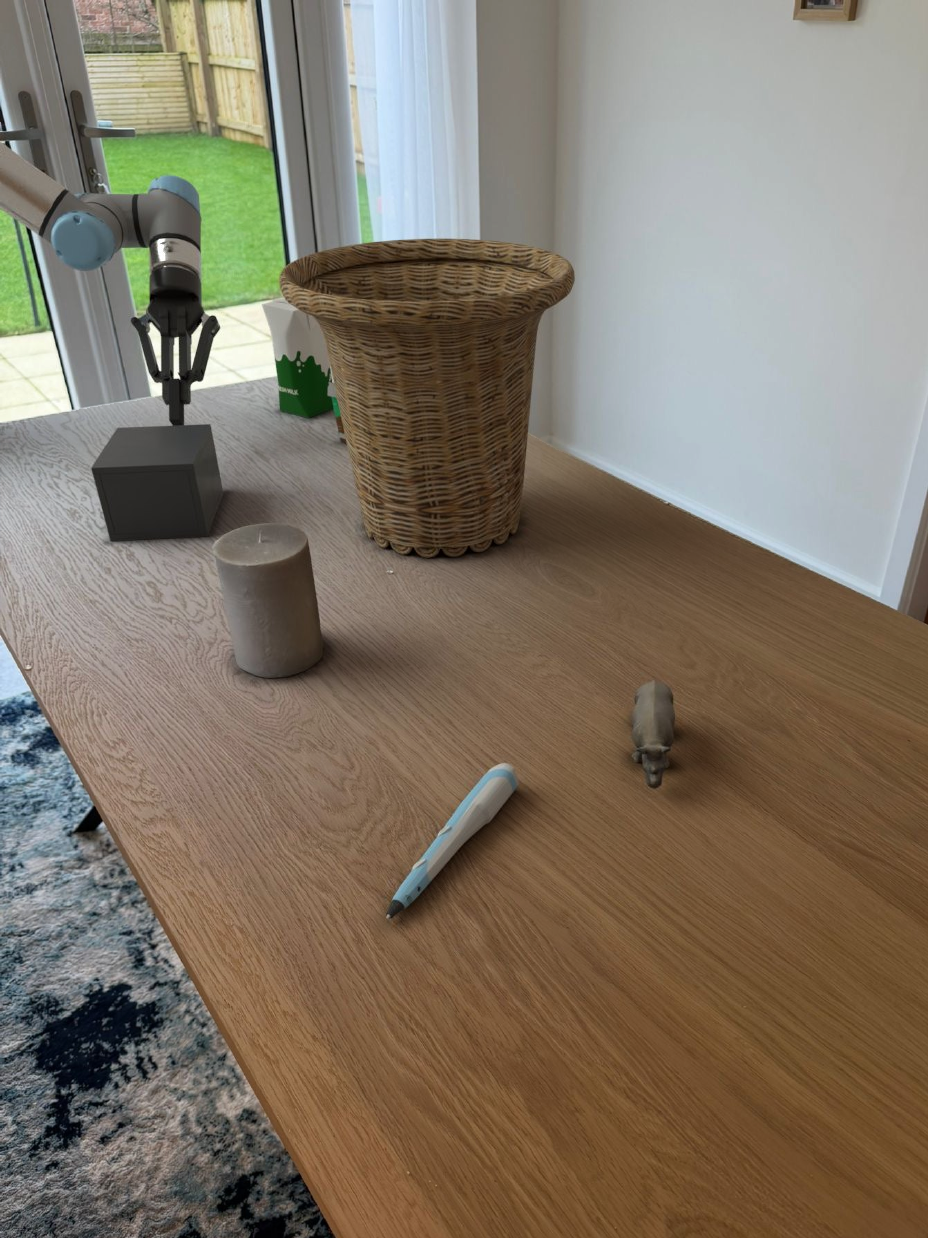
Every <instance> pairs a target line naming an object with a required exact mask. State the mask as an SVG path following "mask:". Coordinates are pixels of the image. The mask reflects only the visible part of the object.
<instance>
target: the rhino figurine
mask: <svg viewBox="0 0 928 1238" xmlns="http://www.w3.org/2000/svg"><path fill="white" fill-rule="evenodd" d="M674 700H675V699H674V694H673V691H672V689H671V687H669V686H668V685H667V684H665V683H663V682H660V681H658V680H655V679H653V680H652V681H649V682H646V683H644V684H642V685H640V686H639V687H638V688H637V690H636V691H635V694H634V698H633V701H634V705H635V706H634V708H633V710H632V713H631V718H630V719H631V725H632V727H633V728H632V730H631V741H632V742H633V744H634V745H635V747H636V748H635V751H634V752H633V753H632V754H631V758H632V759H633V761H634V762H635V763H642V770H643V772H644V774H645V781H646V785H647V787H649V788H650V789H652V790H655V789H658V788H659V787H661V786H662V782H663V774H664V771H665V770H667V769H668V768H669V766H670V760H668V758H667V756H666V755H667V754H668V753H669V752H671V748H672V745H673V744H674V742H675V734H674V729H673V728H674V726H675V721H676V713H675V708H674Z"/></svg>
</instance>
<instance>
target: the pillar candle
mask: <svg viewBox="0 0 928 1238" xmlns="http://www.w3.org/2000/svg"><path fill="white" fill-rule="evenodd" d="M212 551H213V554H214V559H215V563H216V569H217V574H218V579H219V583H220V589H221V595H222V600H223V605H224V609H225V615H226V621H227V625H228V629H229V635H230V638H231V644H232V648H233V653H234V658H235V662H236V665H237V667H238V668H239V669H241V670H243V671H245V672H247V673H249V674H251V675H254V676H256V677H260V678H265V679H271V678H272V679H274V678H275V679H276V678H284V677H289V676H294V675H297V674H299V673H302V672H305V671H307V670H309V669H310V668H312V667H313V666H314V665H316V663H318V662H320V660H321V659H322V658H323V656H324V653H325V648H324V644H323V636H322V629H321V619H320V612H319V604H318V597H317V590H316V583H315V582H316V581H315V576H314V569H313V563H312V556H311V555H312V554H311V549H310V542H309V538H308V536H307V534H306V533H305V532H304V531H303V530H302V529H300V528H299V527H297V526H293V525H291V524H290V525H289V524H284V523H280V522H279V523H277V522H264V523H263V522H262V523H255V524H250V525H245V526H240V527H238V528H235V529H233V530H230V531H229V532H227V533H224V534H223V535H222V536H221V537H220V538H218V539H216V540H215V541H214V543H213V545H212Z"/></svg>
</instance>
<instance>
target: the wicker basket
mask: <svg viewBox="0 0 928 1238" xmlns="http://www.w3.org/2000/svg"><path fill="white" fill-rule="evenodd" d="M575 278H576V277H575V269H574V267H573V265H572V264H571V262H570V261H569V260H568V259H566V257H564V256H561V254H558V253H555V252H552V251H550V250H546V249H543V248H539V247H536V246H535V247H534V246H530V245H526V244H520V243H513V242H506V241H498V240H489V239H488V240H486V239H471V238H411V239H395V240H394V239H392V240H381V241H372V242H371V241H370V242H363V243H357V244H349V245H345V246H344V245H343V246H338V247H334V248H329V249H325V250H321V251H317V252H314V253H311V254H308V255H305V256H302V257H299V258H298V259H295V260H293V261H291V262H289V263H288V264H287V265H286V266H284V267H283V269H282V270H281V272H280V274H279V277H278V284H279V285H278V286H279V291H280V292H281V294H282V297H283V298H285V300H286V301H287V302H288V303H289V304H291V305H293V306H294V307H296V308H297V309H299V310H300V311H302V312H304V313H306V314H309V315H311V316H313V317H314V318H315V319H316V321H317V322H318V324H319V326H320V328H321V330H322V332H323V335H324V338H325V342H326V347H327V352H328V356H329V361H330V369H331V376H332V381H333V383H334V385H335V390H336V394H337V399H338V404H339V409H340V414H341V418H342V423H343V428H344V433H345V437H346V442H347V444H346V446H347V452H348V456H349V460H350V467H351V471H352V475H353V480H354V485H355V490H356V493H357V499H358V503H359V508H360V512H361V517H362V520H363V524H364V529H365V532H366V534H367V536H368V538H369V539H374V541H375V542H376V544H377V545H378V546H379V547H381V548H383V549H385V548H388V547H389V546H391V548H392V549H393V551H395V552H396V553H397V554H400V555H409V554H410V553H411V552H412V551H413V548H414V551H415V552H416V553H417V554H418V555H419V556H420V557H422V558H426V559H431V558H434V557H436V556H437V555H438V554H439V552H440V550H442V552H443V554H445V555H447V557H450V558H458V557H461V556H462V555H464V554H465V553H466V551H467V550H468V547H469V548H470V550H472V552H475V553H482V552H484V551H486V550H488V549H489V548H490V546H491V544H492V542H493V543H494V544H496V545H502V544H504V543H505V542H506V541H507V539H508V537H509V535H515V534H516V532H517V530H518V526H519V523H520V518H521V510H522V500H523V493H524V492H523V491H524V482H525V481H524V479H525V471H526V461H527V460H526V458H527V449H528V438H529V436H528V435H529V426H530V425H529V424H530V413H531V404H532V403H531V402H532V393H533V392H532V390H533V383H534V382H533V380H534V369H535V358H536V350H537V348H536V347H537V337H538V330H539V325H540V322H541V319H542V317H543V315H544V313H545V312H546V311H547V310H548V309H550V308H552V307H554V306H556V305H557V304H558V303H561V301H562V300H564V299H565V298H566V297H568V295H570V293H571V292H572V290H573V287H574V284H575V280H576V279H575Z"/></svg>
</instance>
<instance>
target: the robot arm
mask: <svg viewBox="0 0 928 1238" xmlns="http://www.w3.org/2000/svg"><path fill="white" fill-rule="evenodd" d="M200 205H201V204H200V195H199V192H198V190H197V189H196V187H195V186H194V185H193V184H192V183H191V182H190V181H188V180H186V179H185V178H183V177H180V176H176V175H171V174H164V175H160V177H156V178H153V179H152V181H150V184H149V186H148V189H147V192H146V193H132V194H131V193H92V192H87V191H86V192H83V193H72V192H71V191H69V190H68V189H67V188H66V187H64V185H61V184H60V183H59V182H58V181H56V180H54V179H53V178H52V177H50V176H49V175H47V174H46V173H45V172H43V171H42V170H41V169H39V168H38V167H36V166H35V165H33V164H32V163H31V162H29V161H28V160H27V159H25V158H24V157H22V156H21V155H20V154H18V153H16V152H15V151H14V150H12V148H10V147H9V146H7V145H6V144H4V143H3V142H1V141H0V210H1V211H3V212H4V213H5V214H7V216H8V215H9V217H11V218H13V219H14V220H16V221H17V222H19V223H20V224H22V225H23V226H24V227H26V228H27V229H29V230H31V231H32V232H33V233H34V234H36V235H38V236H39V237H41V238H42V239H44V240H45V241H46V242H47V243H49V244H51V245H52V249H53V250H54V252H55V254H56V256H57V257H58V258H59V259H60V261H61V262H62V263H64V264H65V265H66V266H68V267H69V268H72V269H73V270H76V271H80V272H91V271H94V270H95V271H96V270H97V269H98V268H101V267H103V266H105V265H107V264H108V262H110V261H111V260H112V259H113V257H114V255H115V254H117V253H118V252H119V251H120V250H121V249H148V256H149V258H148V261H149V262H148V263H149V264H148V265H149V267H148V269H149V271H148V272H149V277H148V279H149V280H148V281H149V283H148V285H149V286H148V291H149V293H148V298H149V299H148V301H149V302H148V306H147V307H146V310H145V313H144V315H142V316H140V317H137V316H133V317H131V318H130V324H131V326H132V327H133V328H134V330H135V332H136V333H137V335H138V338H139V342H140V345H141V349H142V354H143V356H144V360H145V364H146V368H147V371H148V374H149V376H150V377H151V379H152V381H153V382H154V383H156V384H159V383H160V384H161V398H162V400H163V402H164V404H165V405H166V406H168V420H169V422H170V424H171V426H176V425H185V405H186V406H187V405H191V402H192V385H193V383H196V382H198V383H201V382H203V381H204V379H205V374H206V371H207V367H208V362H209V359H210V356H211V355H210V354H211V351H212V346H213V343H214V338H215V337H216V335H217V334H218V333H219V331H220V330H221V326H220V323H219V320H218V318H217V316H216V315H213V314H212V315H209V314H207V313H206V311H205V310H204V308H203V296H202V295H203V294H202V292H203V288H202V277H203V276H202V215H201V206H200ZM151 324H152V325H153V326H154V328H155V329H156V330H157V331H158V332H159V335H160V368H159V365H158V360H157V357H156V354H155V353H156V352H155V350H154V346H153V341H152V339H151V336H150V334H149V333H150V332H151ZM200 326H201V327H202V328H201V331H200V334H199V338H198V342H197V345H196V350H195V354H194V357H193V362H192V345H193V344H192V343H193V334H195V332H196V331H197V330H198V328H199V327H200ZM176 338H178V372H177V375H178V377H179V378H175V373H174V372H175V359H174V358H175V357H174V356H175V353H174V352H175V351H174V349H175V348H174V346H175V344H176V343H175V340H176Z"/></svg>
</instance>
